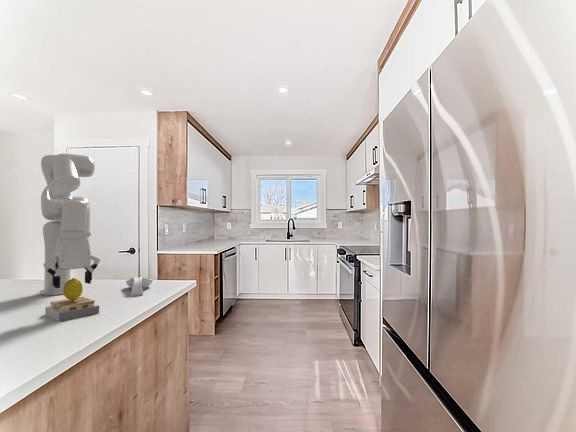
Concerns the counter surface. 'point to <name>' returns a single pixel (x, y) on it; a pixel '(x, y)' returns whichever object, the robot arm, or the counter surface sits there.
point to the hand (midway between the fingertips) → (72, 285)
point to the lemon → (73, 289)
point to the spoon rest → (138, 285)
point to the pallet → (72, 304)
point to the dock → (71, 312)
